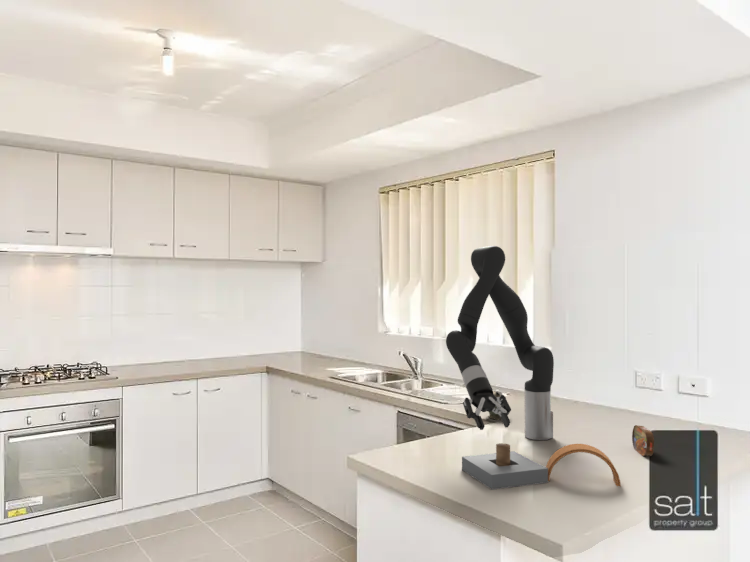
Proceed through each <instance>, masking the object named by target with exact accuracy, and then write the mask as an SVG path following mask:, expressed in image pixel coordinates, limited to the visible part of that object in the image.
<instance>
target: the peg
mask: <svg viewBox="0 0 750 562" xmlns="http://www.w3.org/2000/svg"><path fill="white" fill-rule="evenodd" d="M495 448H496V449H495V451H496V452H495V453H496V465H497V466H499V467H500V466H509V465H510V451H511V445H510V444H509V443H504V442H503V443H496V445H495Z"/></svg>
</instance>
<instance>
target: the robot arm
mask: <svg viewBox="0 0 750 562" xmlns="http://www.w3.org/2000/svg"><path fill="white" fill-rule="evenodd" d="M470 262H471V266H472V268H473V270H474V272H475V274H476V275H477V277H478V280H477V281H476V283H475V284H474V286H473V288H472V289H471V290H470V292H469V293H468V294H467V296H466V297H465V299H464V300H463V302H462V305H461V309H460V312H459V313H458V314H459V315H458V317H457V324H458V326H460V330H451V331H450V332H448V334H447V335H446V338H445V346H446V348H447V350H448V352H449V353H450V355H451V357H452V358H453V360H454V361H455V363H456V364H457V366H458V369H459V371H460V374H461V377H462V381H463V384H464V387H465V389H466V391H467V393H468V396H469V397H465V398H464V400H463V402H462V405H463V408H464V412H465V415H466V417H467V419H473V420H474V421H475V424H476V427H477V429H479V431H483V430H484V429H485V427H486V426H485V423H484V421H483V419H482V416H481V415H480V414H481V412H482V413H486V412H488V413H489V412H491V411H493V412H494V413H495V414H498V415H500V416H501V421H502V424H503V426H504V428H506V429H507V428H509V426H510V424H511V420H510V418H509V414H510V413H511V412H512V408H511V406H510V405H509V402H508V400H507V398H505V397H506V396H505V395H504V394H502V395H501V396H500V397H496V396H494V394H493V391H494V390H493V387H492V386H491V383H490V381H489V378H488V377H487V374H486V372H485V370H484V368H483V367H482V365H481V361H480V359H479V358H478V357H477V355H476V354H475V353H474V352H473V351H474V350H475V347H476V344H477V334H478V325H479V322H480V319H481V316H482V313H483V310H484V307H485V304H486V302H487V300H488V298H489V297H490V299H491V301H492V302H493V304H494V306H495V309H496V311H497V313H498V315H499V317H500V319H501V321H502V323H503V325H504V326H505V328H506V331H507V333H508V335H509V337H510V339H511V341H512V344H513V346H514V349H515V352H516V354H517V357H518V359H519V362H520V364H521V365H522V367H523V368H524V369H525V370H528V371H532V375H531V376H532V377H531V379H530V380H526V381H525V382H524V437H525V438H526V439H529V440H533V441H547V440H550V439H554V412H553V411H552V409H551V408H552V405H551V403H552V402H551V401H552V399H551V396H552V394H551V391H552V390H551V388H552V387H551V386H552V385H553V381H554V367H555V365H554V364H555V362H554V360H555V359H554V356H553V353H552V350H550V349H549V348H548V347H545V346H538V345H535V344H534V342H533V340H532V338H531V337H530V333H529V331H528V322H529V321H528V313H527V309H526V308H525V305H524V304H523V301H522V299H521V298H520V296H519V295H518V294H517V292H516V291H514V289H512V288H511V286H509V284H507V283H506V282H505V281H504V280H503V279H502V277H501V276H500V274H501V273H502V270H503V268H504V266H505V264H506V254H505V251H504V250H503V249H502V248H501V246H497V245H489V246H488V245H487V246H481V247H477V248H475V249H474V250H473V251H472V252H471V255H470ZM472 406H474V407H475V411H473V408H472ZM495 406H496V407H497V409H495Z"/></svg>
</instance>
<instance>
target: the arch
mask: <svg viewBox="0 0 750 562" xmlns="http://www.w3.org/2000/svg"><path fill="white" fill-rule="evenodd" d="M575 453H586V454H590V455H594V456H596V457H598V458H599V459H600V460H602V461H604V462H605V464H606V465H607V466H608V467H609V468H610V470H611V473H612V480H613V481H612V482H613V483H614V485H615V486H616V487H621V480H620V476H619V473H618V471H617V469H616V467H615V465H614V464H613V462H612V461H611V459H610V458H609V457H608V456H607V454H605V453H604V452H602V450H600V449H599V448H597V447H595V446H593V445H590V444H587V443H586V444H584V443H572V444H567V445H564V446H562V447H560V448H559V449H557V450H556V451H555V452H554V453H553V454H551V456H550V458H549V459H548V461H547V463H546V465H545V467H546V468H548V481H549V482H550V478H551V474H552V471H553V468H554V467H555V465H556V464H557V463H558V462H559V461H560V460H562V459H563V457H566V456H568V455H571V454H575Z"/></svg>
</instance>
